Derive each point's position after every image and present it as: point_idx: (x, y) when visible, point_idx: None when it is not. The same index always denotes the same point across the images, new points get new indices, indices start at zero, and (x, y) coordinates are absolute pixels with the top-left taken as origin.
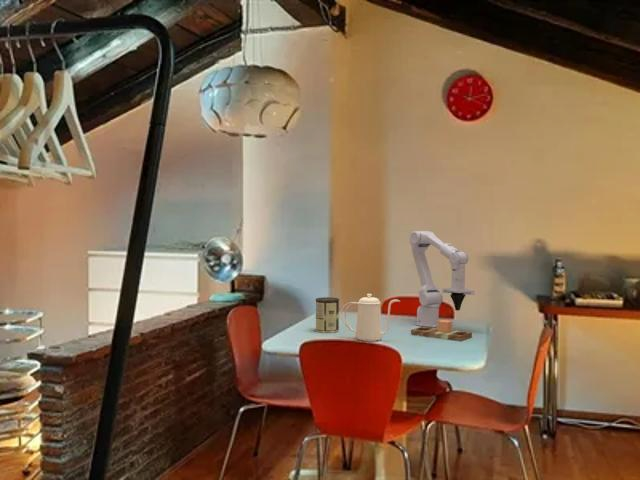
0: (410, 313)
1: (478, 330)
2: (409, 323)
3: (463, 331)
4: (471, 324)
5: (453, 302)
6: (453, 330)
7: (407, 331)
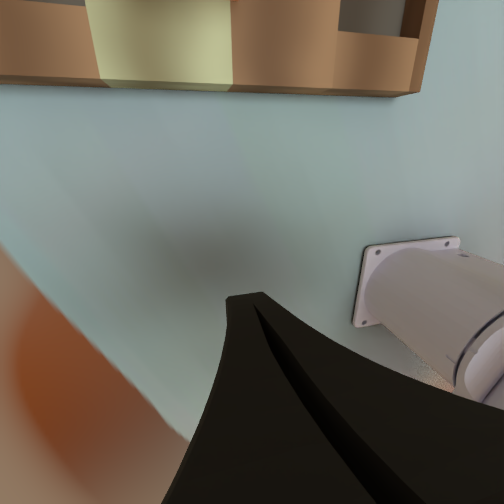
0: None
1: (138, 347)
2: None
3: (49, 72)
4: None
5: (336, 343)
6: (156, 66)
7: (475, 9)
